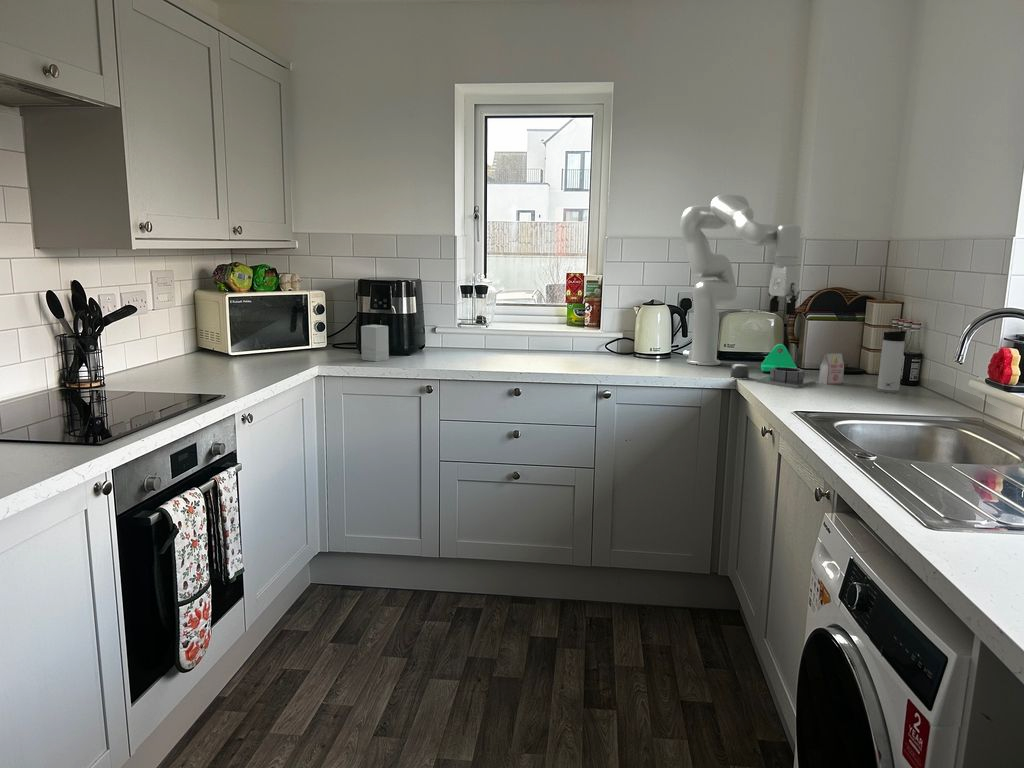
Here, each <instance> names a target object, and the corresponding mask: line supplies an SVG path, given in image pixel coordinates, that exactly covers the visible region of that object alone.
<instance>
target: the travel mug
mask: <svg viewBox="0 0 1024 768" xmlns="http://www.w3.org/2000/svg"><path fill="white" fill-rule="evenodd" d="M906 334H907V330H900V331H898V330H897V331H884V332H883V338H882V345H881V351H880V352H881V353H880V362H879V369H878V370H879V373H878V379H877V381H878V382H877V387H876V388H877V389H876V390H877V392H878V391H879V393H881V392H883V393H882V394H888V393H897V394H898V393H899V392H900V385H901V384H900V383H901V376H902V369H903V368H902V366H903V360H904V352H905V351H904V350H905V342H906V340H905V339H906Z"/></svg>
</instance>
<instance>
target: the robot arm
mask: <svg viewBox="0 0 1024 768" xmlns="http://www.w3.org/2000/svg"><path fill="white" fill-rule="evenodd" d="M754 215H755V214H754V210H753V209H752V208H751V207H750V204H749V201H748V199H747V198H746V197H744V196H743V195H741V194H739V195H738V194H727V193H725V194H724V193H723V194H722V193H721V194H719V195H716V196H714V198H712V200H711V202H710V205H702V204H701V205H692V206H689V207H687V208H685V209H684V211H683V212H682V215H681V218H680V226H679V227H680V232H681V236H682V238H683V241H684V244H685V247H686V252H687V257H688V261H689V266H690V271H691V272H692V275H693V276H694V277H695V278H697V279H704V280H702V281H699V282H697V283H696V284H695V285H694V287H693V289H692V300H693V301H692V302H693V324H692V325H693V326H692V337H691V338H692V340H691V349H689V350H687V349H686V350H683V353H682V355H683V356H687V357H688V358H687V359H686V363H688V364H690V365H691V364H692V365H696V364H697V365H698V366H718V365H721V360H719V359H717V356H718V344H719V341H718V340H719V330H720V314H719V311H718V309H717V306H729V305H732V304H733V303H734V302H735V301H736V298H737V294H738V291H737V285H736V284H737V283H736V279H735V274H734V270H733V267H732V263H731V261H730V259H729V258H728V257H727V256H726V255H725V254H723V253H714V252H712V250H711V246H710V242H709V240H708V237H707V236H706V234H704V232H703V231H702V229H707V230H719V229H723V228H725V227H726V226H729V225H730V226H731V227H733V228H734V231H735V234H736V235H737V236H738V238H739V239H741V240H743V241H744V242H746V243H748V244H750V245H751V246H754V247H768V248H769V247H773V248H774V247H775V249H774V250H775V252H774V263H773V268H772V269H771V274H770V281H769V286H767V290H768V296H769V308H768V311H769V313H778V312H779V308H780V307H779V305H780V300H779V299H780V297H783V298H784V297H785V298H786V303H785V315H786V316H794V315H795V313H796V306H797V305H796V304H797V302H798V299H799V296H800V293H801V289H800V288H799V287H798V285H799V283H798V282H799V279H798V277H799V273H798V267H799V266H798V265H799V255H800V245H801V236H802V235H801V233H802V228H801V226H800V225H797V224H774V223H759V222H756V221H754ZM705 279H706V280H705ZM708 279H711V280H708Z"/></svg>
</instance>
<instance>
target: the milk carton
mask: <svg viewBox="0 0 1024 768" xmlns="http://www.w3.org/2000/svg"><path fill="white" fill-rule="evenodd" d="M819 367H820V368H819V377H818V383H819V384H822V383H823V384H824V385H826V384H827V385H841V383H842V384H844V382H843V381H844V373H845V371H844V370H845V364H844V360H843V353H826V354H824V357H823V359H822V361H821V363H820V365H819Z"/></svg>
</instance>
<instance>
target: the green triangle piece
mask: <svg viewBox="0 0 1024 768" xmlns="http://www.w3.org/2000/svg"><path fill="white" fill-rule="evenodd" d="M779 349H782V351H781V352H778V350H779ZM773 367H791V368H798V367H797V365H796V363H795V361H794V360H793V358H792V356H791V354H790V353H789V350H788V349H787V347H786V346H785V345H784V344H782V343H778V344H776V345H774V347H773V348H772V349H771V350H770V352H769V353H768V355H766V357H765V358H764V360H763V361H762V362H761V364H760V369H761V371H762V372H770V370H771V368H773Z"/></svg>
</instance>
